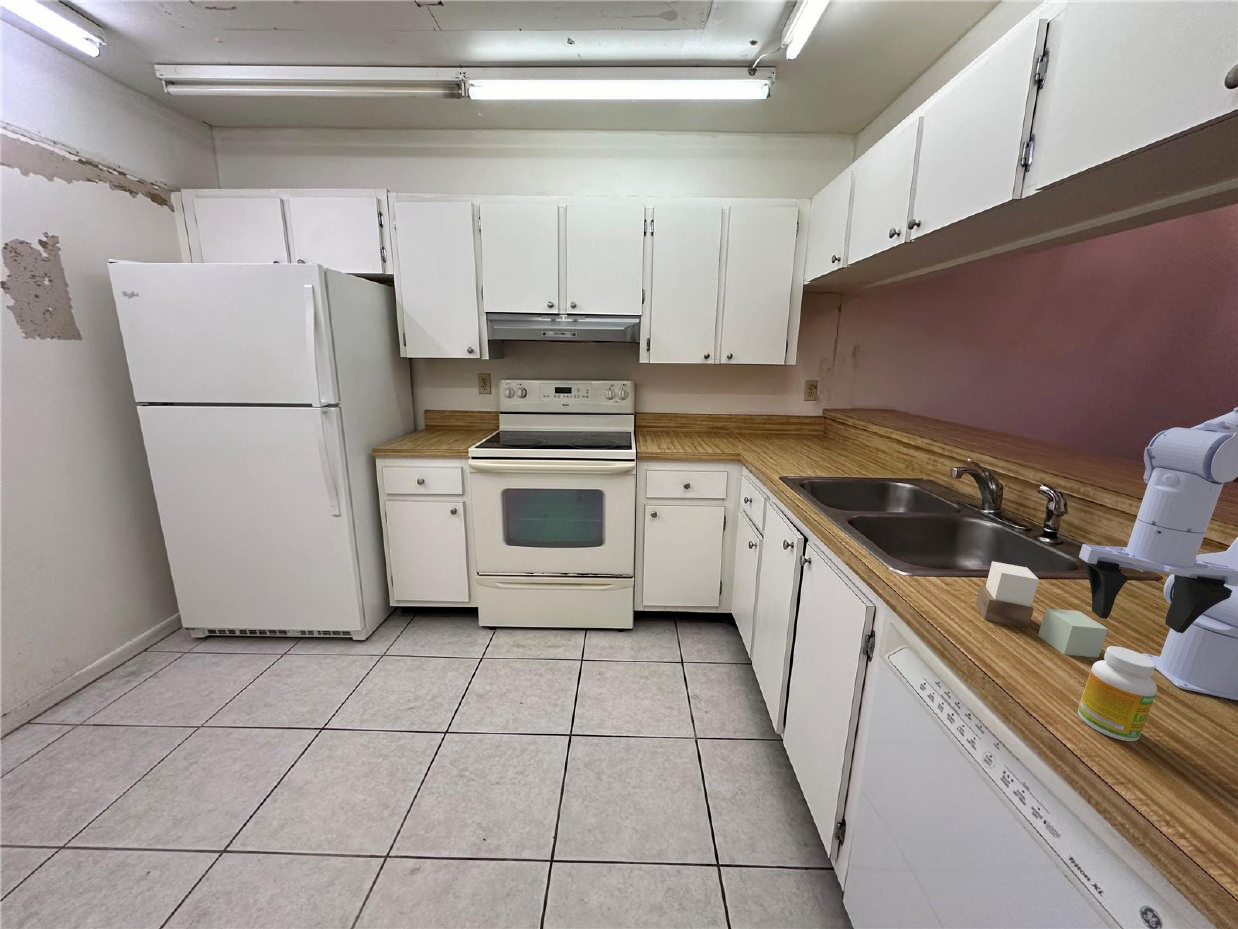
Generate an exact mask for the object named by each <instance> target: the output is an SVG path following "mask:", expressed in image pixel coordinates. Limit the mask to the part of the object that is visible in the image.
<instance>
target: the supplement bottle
mask: <svg viewBox="0 0 1238 929" xmlns="http://www.w3.org/2000/svg"><path fill="white" fill-rule="evenodd" d="M1103 658H1104V659H1103V660H1098V661H1096V662H1094V663H1093V664H1092V666H1091V669H1090V673H1089V675H1088V678H1087V681H1086V683H1085V684H1086V685H1085V687H1084V691H1083V693H1082V696H1081V699H1080V702H1079V704H1078V705H1079V706H1078V709H1077V714H1078V716H1079V717H1080V719H1081V720H1082V721H1083V722H1084V723H1086V724H1087V726H1089V727H1091V728H1092V729H1094V730H1095V731H1098V732H1099V733H1101V734H1103V735H1105V736H1108V737H1110V738H1113V739H1116V740H1119V741H1122V742H1123V741H1124V742H1136V741H1138V740H1139V739H1140V737H1141V735H1142V732H1143V730H1144V726H1145V725H1146V722H1147V719H1148V717H1149V713H1150V711H1151V709H1152V705H1153V702H1154V700H1155V699H1156V698H1155V697H1156V695H1157V692H1158V687H1157V684H1156V682H1155V681H1154V679H1153V678H1151V677H1153V675H1154V672H1155V669H1156V668H1155V666H1156V665H1155V663H1154V662H1153V661H1152V660H1151V659H1149V658H1148V657H1146V656H1144V655H1142V653H1140V652H1138V651H1136V650H1135V651H1134V650H1132V649H1129V648H1126V647H1122V646H1115V645H1112V646H1108V647H1106V650H1105V653H1104V655H1103Z"/></svg>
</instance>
